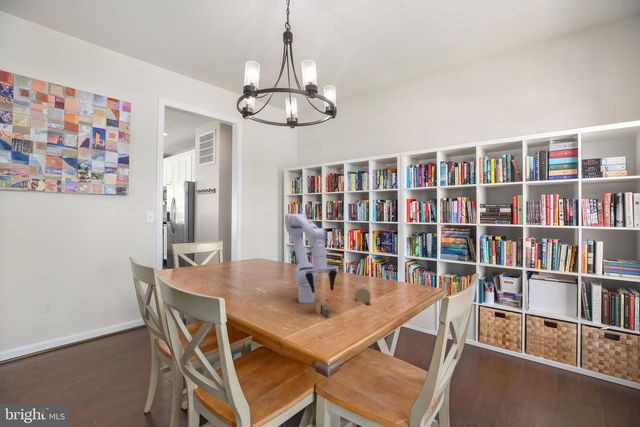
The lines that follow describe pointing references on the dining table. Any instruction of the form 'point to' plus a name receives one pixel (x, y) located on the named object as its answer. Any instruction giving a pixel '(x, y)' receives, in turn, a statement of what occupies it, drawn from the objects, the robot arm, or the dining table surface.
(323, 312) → the stand
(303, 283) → the robot arm
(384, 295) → the dining table surface
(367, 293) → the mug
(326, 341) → the dining table surface
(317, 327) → the dining table surface
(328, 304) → the u-shaped block
